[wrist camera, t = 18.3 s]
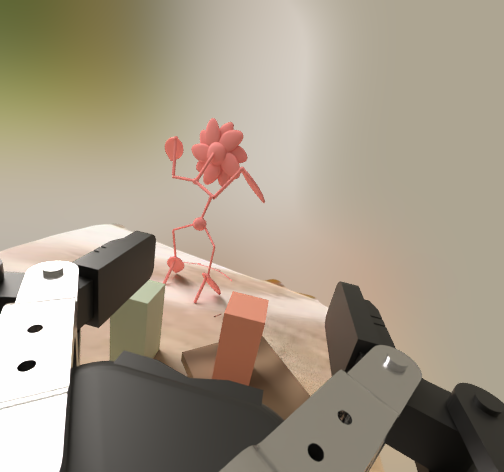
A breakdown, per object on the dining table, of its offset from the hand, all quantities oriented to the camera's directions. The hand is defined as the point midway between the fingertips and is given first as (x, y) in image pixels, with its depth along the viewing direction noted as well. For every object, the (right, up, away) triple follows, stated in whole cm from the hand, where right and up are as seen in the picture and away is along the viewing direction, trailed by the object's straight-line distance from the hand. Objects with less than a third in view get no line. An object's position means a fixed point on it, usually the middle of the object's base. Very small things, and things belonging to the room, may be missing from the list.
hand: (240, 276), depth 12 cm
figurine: (-11, -9, +52) cm, 54 cm away
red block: (-2, -18, +28) cm, 34 cm away
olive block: (-17, -16, +30) cm, 38 cm away
